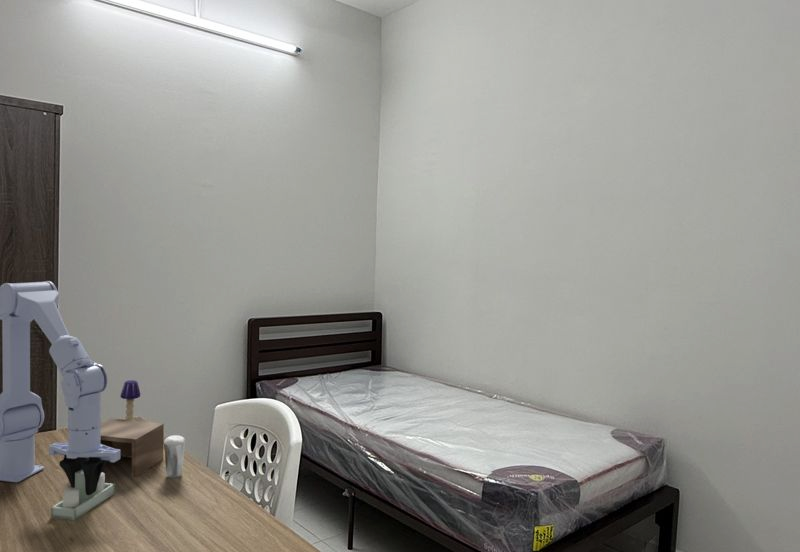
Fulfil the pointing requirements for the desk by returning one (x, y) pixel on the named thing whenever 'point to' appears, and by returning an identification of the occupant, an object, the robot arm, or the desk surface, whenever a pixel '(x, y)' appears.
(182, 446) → the milkshake
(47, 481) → the desk surface
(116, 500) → the desk surface
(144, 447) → the brown open box
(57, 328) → the robot arm
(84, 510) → the caddy
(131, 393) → the toy lamp
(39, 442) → the desk surface
